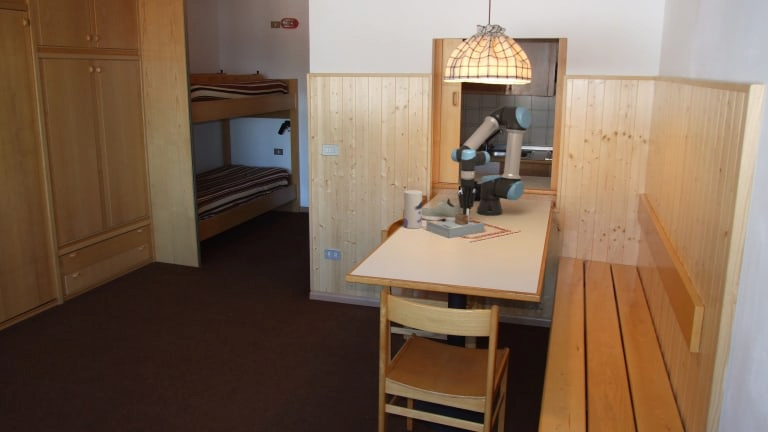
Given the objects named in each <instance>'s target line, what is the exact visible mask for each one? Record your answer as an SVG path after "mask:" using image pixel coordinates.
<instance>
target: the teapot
mask: <svg viewBox="0 0 768 432" xmlns="http://www.w3.org/2000/svg"><path fill="white" fill-rule="evenodd" d="M478 182H479V181H478V180H475V181H474V189H475V190H477V193H476V195H475V200H474V202H475V201H479V202H480V199H481V183H478ZM460 190H461V185H459V186H458V192H459V191H460Z"/></svg>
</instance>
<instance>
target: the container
mask: <svg viewBox="0 0 768 432" xmlns="http://www.w3.org/2000/svg"><path fill="white" fill-rule="evenodd" d="M403 195H404V197H403V201H404V203H403V227H404V228H406V229H420V228H422V227H423V224H422V223H423V219H422V208H423V191H421V190H418V189H407V190H404V194H403Z"/></svg>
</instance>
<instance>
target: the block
mask: <svg viewBox="0 0 768 432" xmlns="http://www.w3.org/2000/svg"><path fill="white" fill-rule="evenodd" d="M468 222H469V221H468V215H464V214H463V213H462V214H456V215H455V223H456V224H459V225H465V224H468Z"/></svg>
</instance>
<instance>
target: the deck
mask: <svg viewBox="0 0 768 432" xmlns="http://www.w3.org/2000/svg"><path fill="white" fill-rule="evenodd" d="M426 231H428V232H431V233H433V234H436V235H439V236H442V237H445V238H448V239H453V238H457V237H459V238H460V237H463V236H464V235H465V236H469V234H470V235H475V234H474V233H476V234H480V233H484V232H485V222H479V223H474V222H470V221H468V224H465V225H459V224H456V223H455V220H452V221H441V222H440V221H439V222H434V221H430V220H426ZM465 236H464V237H465Z"/></svg>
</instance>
